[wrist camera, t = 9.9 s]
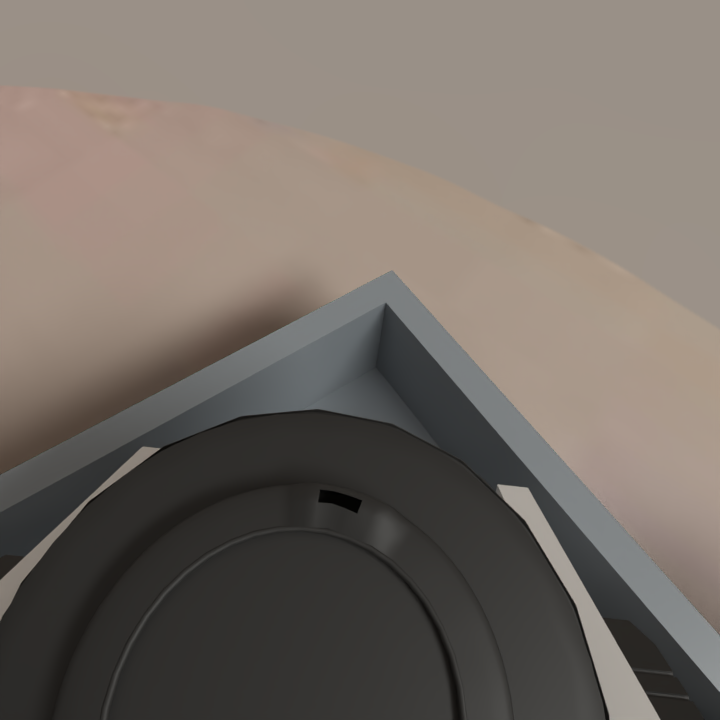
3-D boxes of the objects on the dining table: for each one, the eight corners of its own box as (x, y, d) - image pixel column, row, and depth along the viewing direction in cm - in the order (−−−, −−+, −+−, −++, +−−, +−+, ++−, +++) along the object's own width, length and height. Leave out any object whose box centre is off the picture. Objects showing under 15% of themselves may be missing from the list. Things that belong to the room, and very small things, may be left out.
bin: (-27, 585, 17) (-173, 564, 12) (379, 350, 22) (392, 270, 17) (191, 1331, 10) (61, 1958, 5) (694, 740, 15) (857, 788, 11)
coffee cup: (405, 489, 16) (485, 324, 8) (505, 791, 13) (879, 1132, 4) (156, 559, 15) (-89, 454, 6) (186, 922, 11) (-320, 1893, 3)
